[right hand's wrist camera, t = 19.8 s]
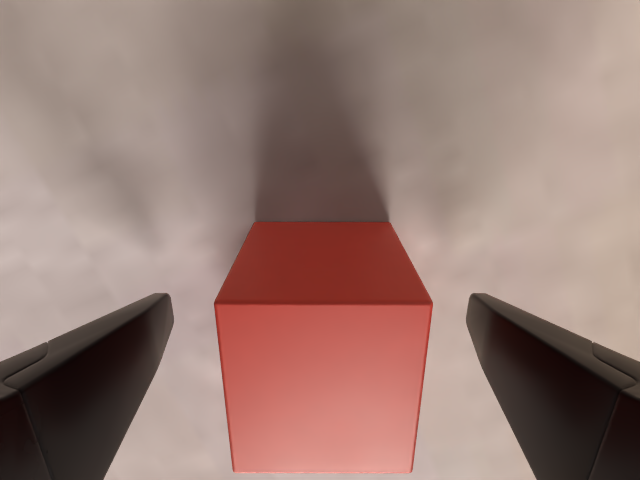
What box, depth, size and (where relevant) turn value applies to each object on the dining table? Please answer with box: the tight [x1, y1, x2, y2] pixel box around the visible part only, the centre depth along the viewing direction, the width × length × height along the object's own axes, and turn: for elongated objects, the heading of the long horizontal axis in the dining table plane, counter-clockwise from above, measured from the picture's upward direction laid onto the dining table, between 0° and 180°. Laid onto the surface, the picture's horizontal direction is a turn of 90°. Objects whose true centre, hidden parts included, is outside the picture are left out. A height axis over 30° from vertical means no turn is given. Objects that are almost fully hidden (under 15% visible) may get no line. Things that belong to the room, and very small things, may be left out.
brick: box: [214, 222, 433, 473], centre depth 11 cm, size 5×4×5 cm
